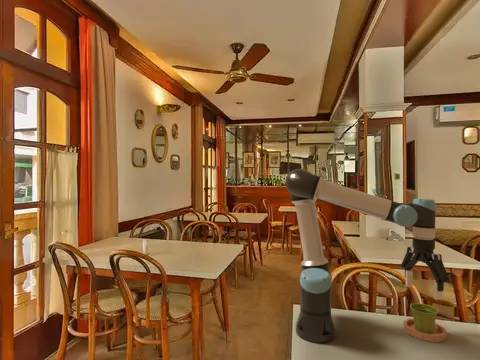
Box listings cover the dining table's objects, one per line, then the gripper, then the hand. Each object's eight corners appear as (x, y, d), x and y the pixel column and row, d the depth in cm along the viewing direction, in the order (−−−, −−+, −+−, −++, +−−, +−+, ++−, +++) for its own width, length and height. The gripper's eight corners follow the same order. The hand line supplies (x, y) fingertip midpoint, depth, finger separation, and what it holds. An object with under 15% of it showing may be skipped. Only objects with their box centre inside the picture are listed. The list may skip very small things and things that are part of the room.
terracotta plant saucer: (406, 337, 111) (406, 330, 111) (401, 321, 124) (401, 315, 124) (450, 345, 105) (450, 338, 105) (441, 328, 118) (441, 322, 118)
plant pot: (443, 337, 109) (443, 314, 109) (415, 335, 110) (415, 312, 111) (432, 326, 118) (431, 304, 118) (406, 324, 120) (406, 302, 120)
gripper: (462, 244, 104) (461, 304, 103) (406, 232, 128) (406, 281, 128) (444, 244, 102) (443, 306, 102) (392, 232, 126) (391, 282, 126)
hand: (422, 292), depth 115 cm, fingers open, 13 cm apart
